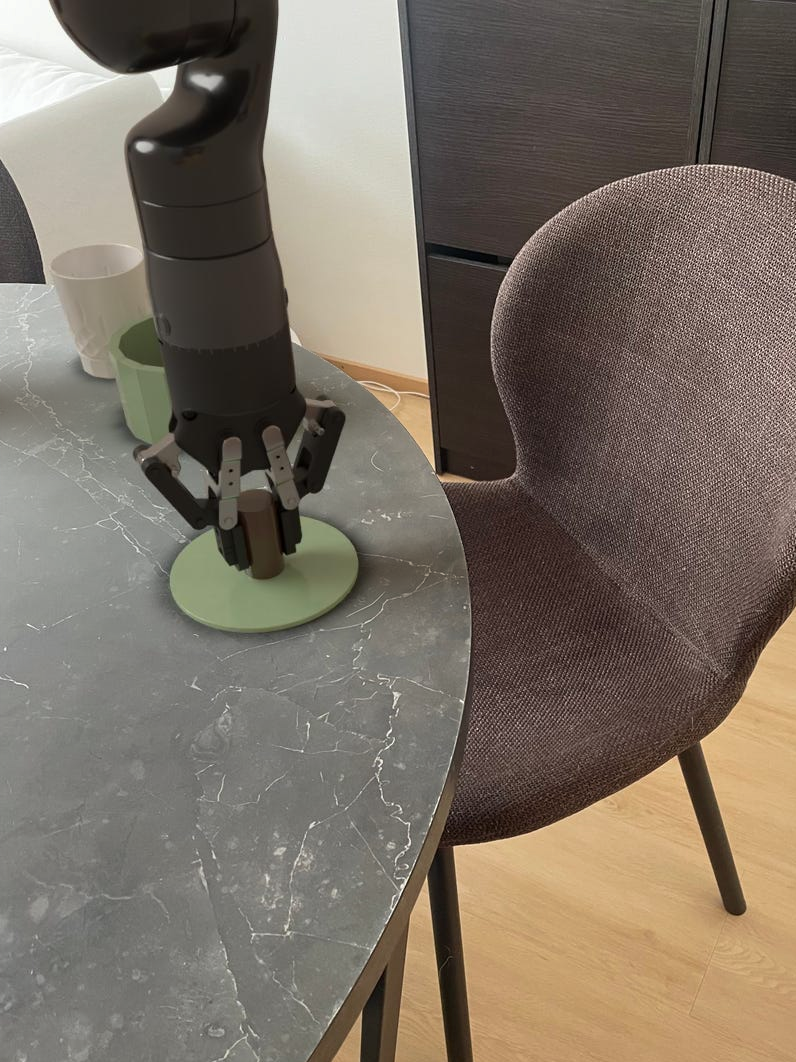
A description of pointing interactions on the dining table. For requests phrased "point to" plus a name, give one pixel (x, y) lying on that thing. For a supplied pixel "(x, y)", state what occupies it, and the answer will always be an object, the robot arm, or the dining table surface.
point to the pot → (141, 379)
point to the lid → (264, 573)
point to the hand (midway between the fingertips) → (262, 555)
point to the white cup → (100, 297)
